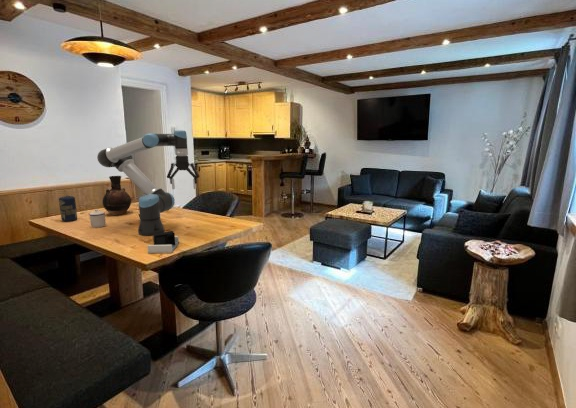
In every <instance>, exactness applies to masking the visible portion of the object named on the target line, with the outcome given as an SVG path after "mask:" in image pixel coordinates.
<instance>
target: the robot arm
mask: <svg viewBox="0 0 576 408" xmlns="http://www.w3.org/2000/svg"><path fill="white" fill-rule="evenodd" d="M155 147H174V151H175V163H174V162H171V163H170V169H169V171H168V173H167V175H166V178H167V179H169V183H170V185H171V189H172V190H175V189H176V186H175V179H174V177H175V176H176V175H177V173H178V172H179V171H186V172H187V173H189V174H190V175H191V177H193V179H192V182H193V190H196V189H197V184H198V178H200V176H201V175H200V174H199V172H198V171H197V168H196V167H195V164H194V163H193V162H191V163H190V162H189V149H188V136H187V131H186V130H179V129H178V130H174V131H173V133H145V134H144V136H142V137H140V138H136V139H134V140H131V141H128V142H125V143H122V144H121V145H117V146H115V147H108V148H104V149H102V150H100V151H99V152H98V154H97V162H98V163H99V164H100V165H101V166H102V167H105V168H115V169H116V170H117V171H118V172H121V173H124V175H125V176H127V177H128V179H130V181H131V182H132V183H133V184H135V185H136V187H137V188H139V190H140V191H141V192H142V193H143V194H144V195H142V196H140V197H139V198H138V210H139V225H138V229H137V234H138V235H139V236H144V237H145V236H146V237H147V236H148V237H149V236H150V237H151V236H153V234H156V233H162V232H165V227H164V224H163V222H162V221H161V220H162V219H161V213H164V212H168V211H169V210H172V208H174V206H175V203H176V202H175V197H174V195H173V194H172V193H170V192H166V191H165V190H163V188H160V187H159V188H158V187H157V186H156V185H155V183H154V182H153V181H152V180H150V179H149V178H148V176H147V175H145V174H144V173H143V171H141V170H140V168H138V166H137V165H136V164H135V163H134V162H135V160H134V157H133V155H136V154H138V153H141V152H144V151H147V150H149V149H152V148H155ZM175 167H176V169H175V170H174V168H175ZM191 169H192V170H191Z"/></svg>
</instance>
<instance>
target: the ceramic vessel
mask: <svg viewBox="0 0 576 408" xmlns="http://www.w3.org/2000/svg"><path fill="white" fill-rule="evenodd" d="M108 178H109V181H110V187H111V188H110V189H108V188H107V189H105V194H104V196H103V198H102V206H103V208H104V209H105V210H106V212H107V213H109V214H110V215H114V216H118V215H119V216H120V215H123V214H125V213H127V211H128V210H129V209H130V208H131V204H132V197H131V195H129V193H128V192H127V191H126V189H125V187H124V188H122V185H121V179H122V175H110V176H109V177H108Z"/></svg>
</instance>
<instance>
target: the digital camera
mask: <svg viewBox="0 0 576 408" xmlns="http://www.w3.org/2000/svg"><path fill="white" fill-rule="evenodd" d="M175 234H176V233H175V231H173V230H169V231H164V232H162V233H156V234H153V235H152V239H153V240H152V241H153V245H175V236H176V235H175Z"/></svg>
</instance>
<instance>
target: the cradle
mask: <svg viewBox="0 0 576 408" xmlns="http://www.w3.org/2000/svg"><path fill="white" fill-rule="evenodd" d="M179 243H180V238H179V235H175V245H154V244H148V245H147V247H146V248H147V254H171V253H173V252H174V250H175V249H176V248H177V247H178V245H179Z"/></svg>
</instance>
